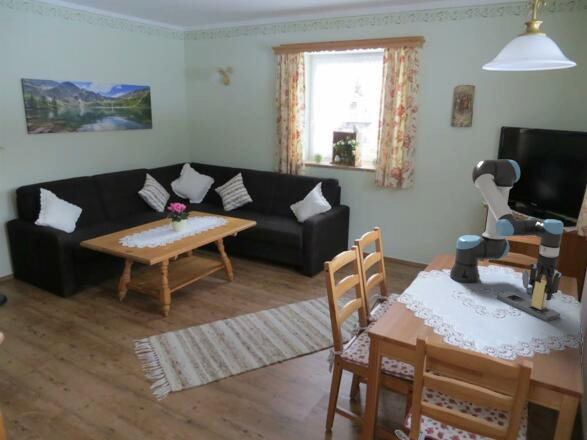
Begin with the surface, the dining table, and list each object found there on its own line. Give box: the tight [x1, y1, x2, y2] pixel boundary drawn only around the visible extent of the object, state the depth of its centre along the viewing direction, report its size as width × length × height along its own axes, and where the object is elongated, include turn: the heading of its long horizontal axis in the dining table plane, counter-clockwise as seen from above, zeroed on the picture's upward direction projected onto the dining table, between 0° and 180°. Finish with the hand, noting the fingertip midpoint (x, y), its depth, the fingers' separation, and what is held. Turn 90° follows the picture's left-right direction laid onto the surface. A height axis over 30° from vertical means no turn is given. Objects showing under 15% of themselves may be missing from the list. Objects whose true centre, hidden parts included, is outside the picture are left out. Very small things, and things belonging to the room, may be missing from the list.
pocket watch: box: [521, 268, 555, 298], centre depth 214 cm, size 10×11×15 cm
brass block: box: [531, 279, 549, 311], centre depth 192 cm, size 4×4×12 cm
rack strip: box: [495, 291, 561, 322], centre depth 199 cm, size 26×9×2 cm, turn 26°
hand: (539, 303), depth 193 cm, fingers closed on brass block, 4 cm apart
